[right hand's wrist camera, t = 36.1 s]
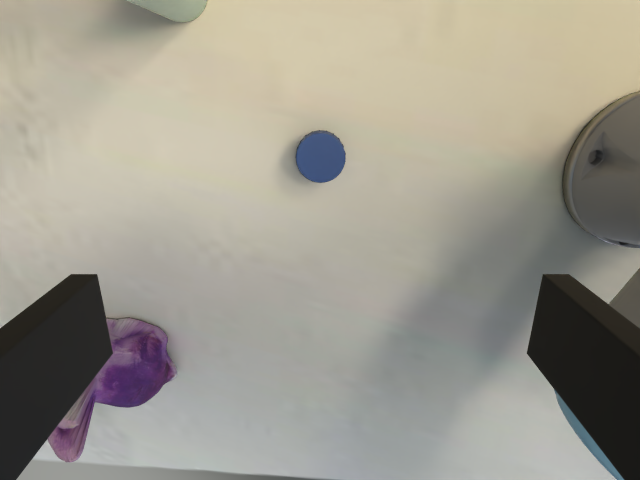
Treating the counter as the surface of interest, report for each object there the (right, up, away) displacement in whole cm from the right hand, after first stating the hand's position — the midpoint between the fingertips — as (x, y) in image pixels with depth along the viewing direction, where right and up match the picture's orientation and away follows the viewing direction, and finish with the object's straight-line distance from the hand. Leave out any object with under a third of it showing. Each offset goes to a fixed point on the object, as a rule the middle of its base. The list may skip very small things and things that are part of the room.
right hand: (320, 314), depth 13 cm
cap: (0, +10, +27) cm, 29 cm away
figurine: (-22, -10, +37) cm, 44 cm away
